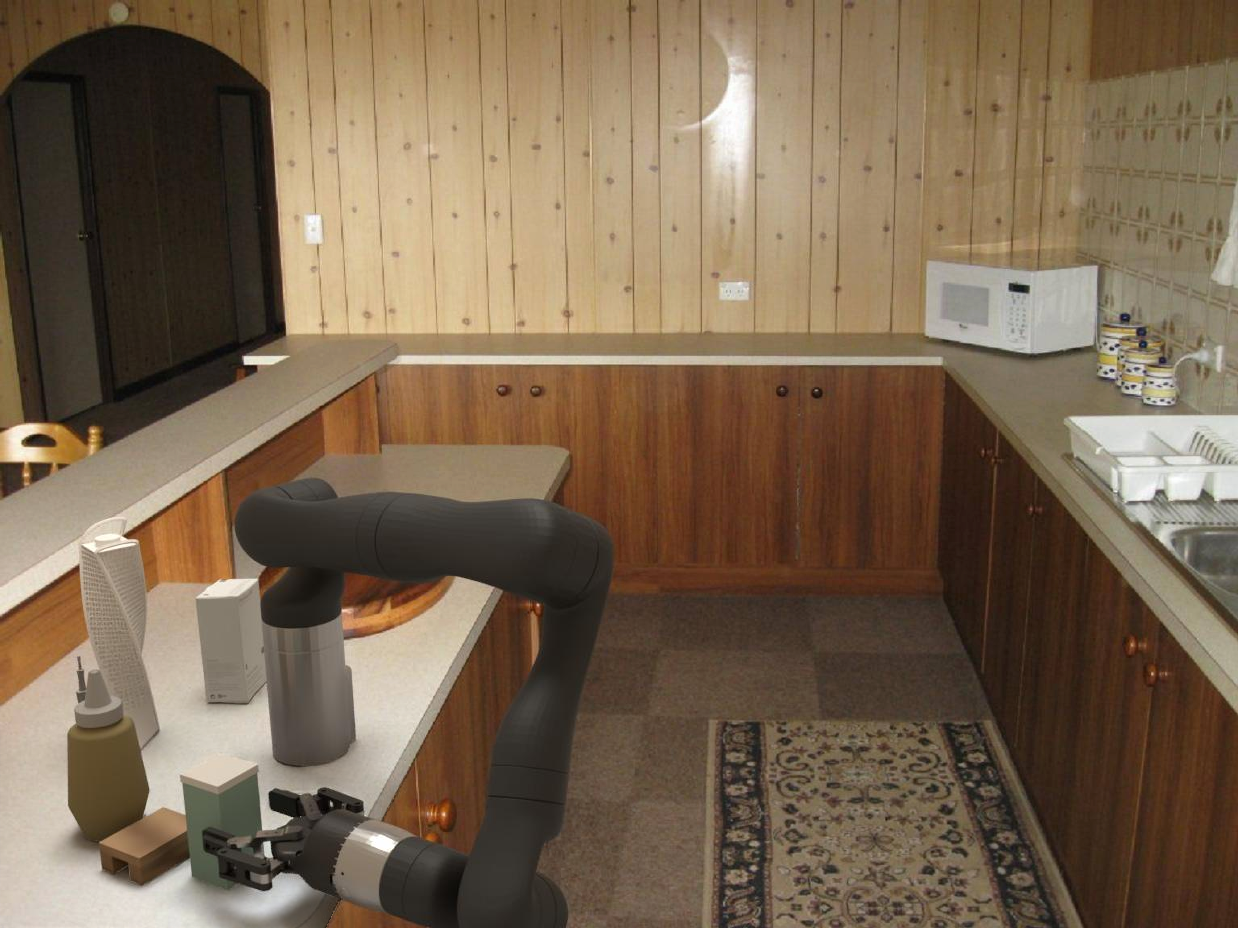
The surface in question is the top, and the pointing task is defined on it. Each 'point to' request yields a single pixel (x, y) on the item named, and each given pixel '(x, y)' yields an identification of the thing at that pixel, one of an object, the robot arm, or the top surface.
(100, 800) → the squeeze bottle
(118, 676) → the skyscraper
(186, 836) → the brown wooden bridge block
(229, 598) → the skincare box
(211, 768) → the tin
